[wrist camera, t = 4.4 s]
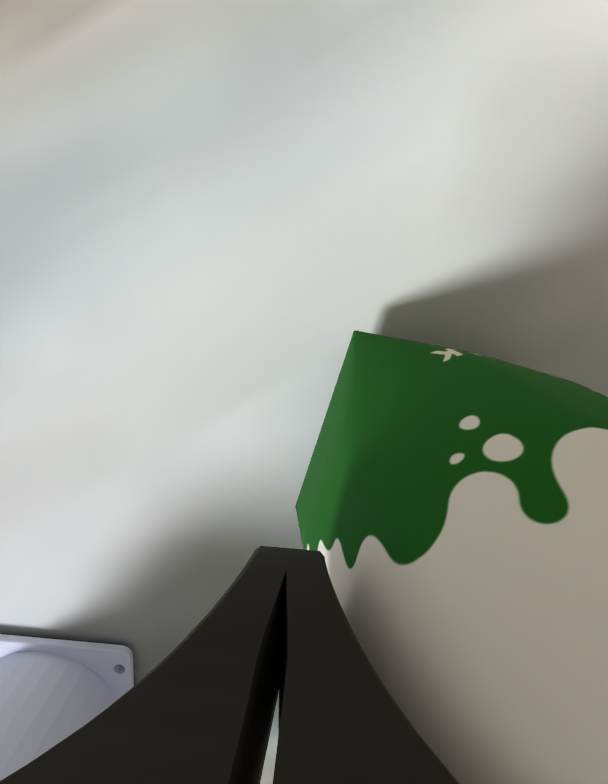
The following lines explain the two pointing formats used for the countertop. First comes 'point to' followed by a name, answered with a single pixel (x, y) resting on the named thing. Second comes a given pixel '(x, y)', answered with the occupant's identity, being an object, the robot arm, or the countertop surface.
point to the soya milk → (471, 553)
